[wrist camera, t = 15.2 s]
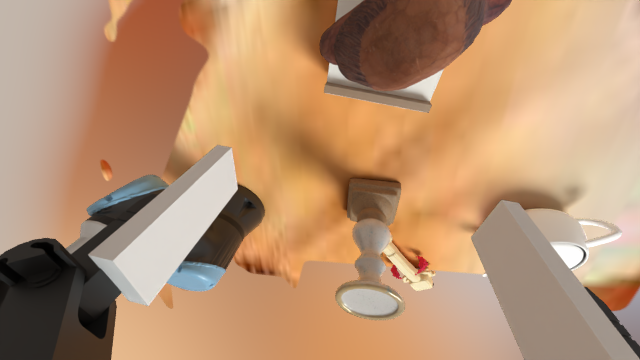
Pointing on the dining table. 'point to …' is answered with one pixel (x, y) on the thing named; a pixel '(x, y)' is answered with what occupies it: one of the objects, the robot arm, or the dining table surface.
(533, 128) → the dining table surface
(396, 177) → the dining table surface
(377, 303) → the candle holder
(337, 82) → the display plinth
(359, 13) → the wooden figurine
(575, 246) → the teapot
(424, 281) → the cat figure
